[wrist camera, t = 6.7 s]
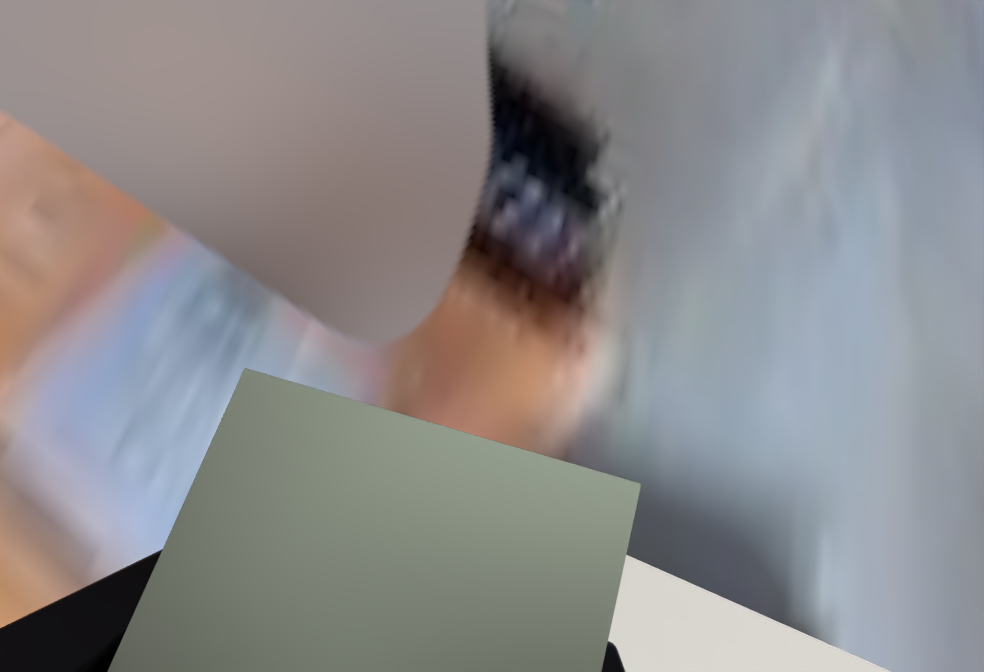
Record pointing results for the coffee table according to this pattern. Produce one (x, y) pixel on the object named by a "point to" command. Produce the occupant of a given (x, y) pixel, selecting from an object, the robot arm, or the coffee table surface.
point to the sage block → (379, 549)
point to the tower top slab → (709, 632)
